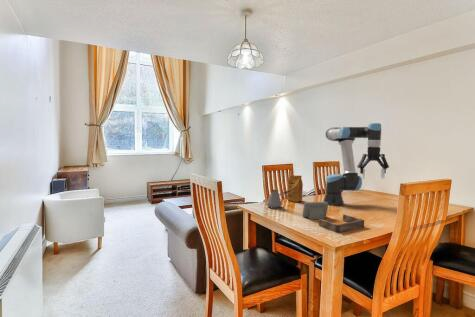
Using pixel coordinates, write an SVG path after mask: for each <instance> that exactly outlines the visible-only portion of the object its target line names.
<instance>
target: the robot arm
mask: <svg viewBox="0 0 475 317" xmlns="http://www.w3.org/2000/svg"><path fill="white" fill-rule="evenodd" d="M381 137H382V124H381V123H380V122H376V123H375V122H370V123H368V126H342V127H330V128H328V129H327V130H326V132H325V138H326V139H327V140H329V141H332V142H338V145H339V146H340V150H341V159H342V166H343V167H342V168H343V173H342V174H339V173H337V174H335V173H334V174H329V175H327V176H326V181H325V186H326V187H325V189H326V190H325V195H324V199H323V202H328V206H337V207H338V206H344V204H345V203H344V199H343V195H342V194H343V193H342V192H344V191H345V192H347V191H348V192H350V191H351V192H356V191H360V189H361V188H362V186H363V179H365V174H366V169H365V168H366V166H367V165H368V164H369V163H370V162H371V161H373V162H375V161H376V162H378V165H380V167H381V168H380V179H385V174H386V172H387V171H386V170H387V169H388V168H390V165H389V163H388V162H387V159H386V156H385V155H386V154H384V153H381V141H382V138H381ZM360 138H361V139H367V154H366V153H363V154H362V157H361V159H360V161H359V163H358V165H357V168H358V169H359V171H360V172H359V173H360V174H361V176H360V175H359V173H358V172H357V171H356V166H355V158H354V151H353V150H354V149H353V144H354V141H355V140H356V139H360Z"/></svg>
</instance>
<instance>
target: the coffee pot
mask: <svg viewBox="0 0 475 317" xmlns="http://www.w3.org/2000/svg"><path fill="white" fill-rule="evenodd" d="M269 191H270V194H269V196H268V199H267V201H266V206H268V207H269V208H270V207H272V208H271V209H279V208H280V207H282V205H283V203H282V200H281V198H280V196H281V195H284V194H287V193H288V192H290V191H292V190H290V191H287V190H285V191H283V192H281V193H279V192H280V190H278V189H270V190H269ZM292 193H293V191H292ZM278 207H279V208H278Z"/></svg>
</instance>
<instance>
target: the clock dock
mask: <svg viewBox="0 0 475 317" xmlns="http://www.w3.org/2000/svg"><path fill="white" fill-rule="evenodd" d="M342 222H343V223H339V224H337V223H334V222H331V221H328V220H325V219H318V227H321V228H323V229H326V230H328V231H331V232H333V233H336V234H339V233H343V232H349V231H353V230H357V229H362V228H364V227H365V220H364V219H362V218H359V217H356V216H355V217H354V216H351V215H348V214H342Z"/></svg>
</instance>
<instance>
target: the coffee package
mask: <svg viewBox="0 0 475 317" xmlns="http://www.w3.org/2000/svg"><path fill="white" fill-rule="evenodd" d="M303 183H304V182H303V179H302V175H293V174H289V177H288V183H287V190H286V191H290V190H292V191H293V193H292V191H290V192H288V193H286V195H287V196H286V198H287V199H286V200H288V201H287V202H292V203H299V202H302V201H303V192H304V191H303V188H304V186H303Z"/></svg>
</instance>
